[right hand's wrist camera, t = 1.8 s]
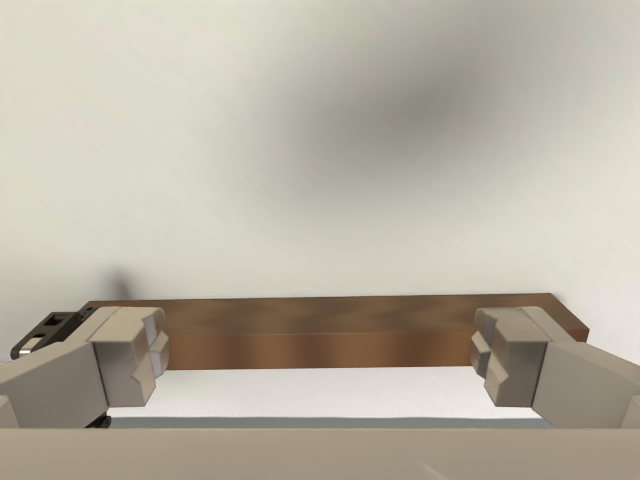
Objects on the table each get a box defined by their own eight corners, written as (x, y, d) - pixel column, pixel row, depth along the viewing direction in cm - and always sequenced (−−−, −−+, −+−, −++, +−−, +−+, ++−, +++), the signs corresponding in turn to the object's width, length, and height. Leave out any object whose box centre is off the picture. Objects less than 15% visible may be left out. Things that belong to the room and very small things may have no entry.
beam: (550, 293, 47) (590, 329, 40) (543, 324, 49) (580, 364, 42) (88, 301, 48) (49, 337, 41) (97, 331, 50) (60, 371, 43)
